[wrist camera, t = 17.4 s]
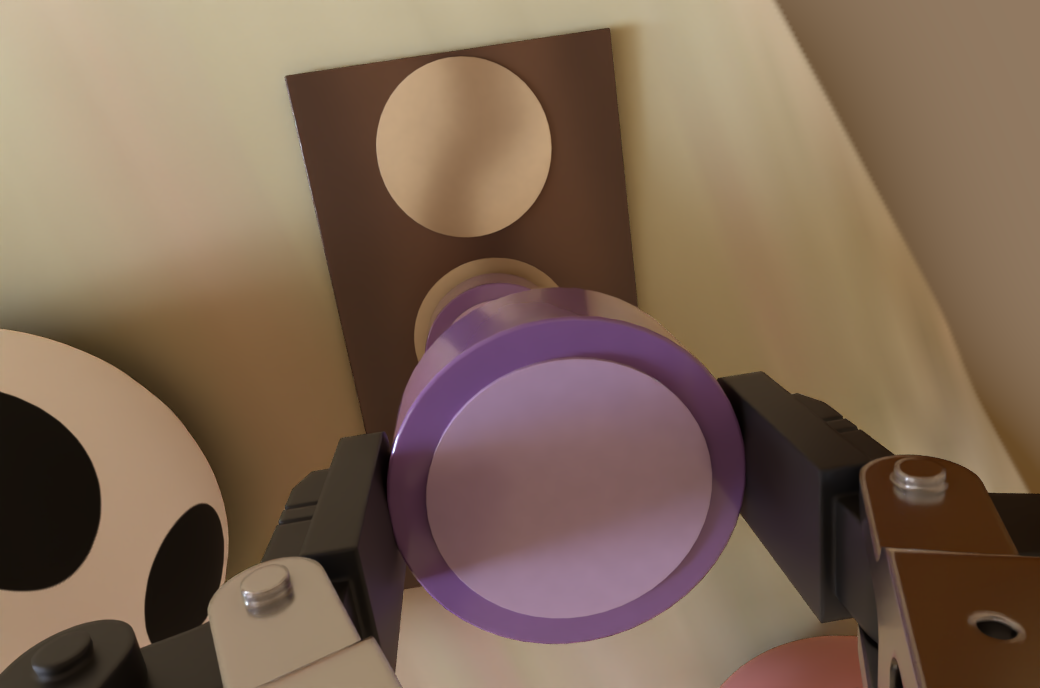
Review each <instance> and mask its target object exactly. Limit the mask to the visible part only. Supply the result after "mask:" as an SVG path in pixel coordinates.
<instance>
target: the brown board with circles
mask: <svg viewBox="0 0 1040 688" xmlns="http://www.w3.org/2000/svg"><path fill="white" fill-rule="evenodd" d="M285 81H286V85H287V90H288V94H289V99H290V103H291V107H292V112H293V116H294V120H295V125H296V129H297V133H298V138H299V142H300V147H301V151H302V155H303V160H304V164H305V168H306V173H307V177H308V181H309V186H310V190H311V194H312V199H313V203H314V208H315V212H316V216H317V221H318V225H319V229H320V234H321V238H322V242H323V247H324V251H325V256H326V260H327V264H328V269H329V273H330V277H331V282H332V286H333V290H334V295H335V299H336V303H337V308H338V312H339V317H340V321H341V325H342V330H343V334H344V338H345V343H346V347H347V351H348V356H349V360H350V365H351V369H352V373H353V378H354V382H355V386H356V391H357V395H358V399H359V404H360V408H361V413H362V417H363V421H364V426H365V430H366V434H370V433H376V432H382V431H385V433H386V434H387V437H388V440H389V444H390V448H392V442H393V437H394V431H395V426H396V421H397V415H398V410H399V406H400V403H401V400H402V396H403V393H404V390H405V388H406V385H407V383H408V381H409V379H410V377H411V375H412V373H413V371H414V369H415V367H416V366H417V364H418V363H419V361H420V360H421V358H422V357H423V355H424V354H425V345H426V335H427V329H428V325H429V321H430V318H431V316H432V314H433V311H434V310H435V308H436V306H437V305H438V303H439V302H440V301H441V299H442V298H443V297H444V296H445V295H446V294H447V293H448V292H449V291H450V290H451V289H452V288H454V287H455V286H457V285H458V284H460V283H462V282H463V281H465V280H467V279H470V278H473V277H475V276H479V275H483V274H491V273H505V274H511V275H516V276H519V277H522V278H524V279H527V280H529V281H531V282H533V283H534V284H536V285H537V286H539V287H540V288H552V287H562V288H579V289H585V290H590V291H596V292H600V293H603V294H606V295H610V296H613V297H616V298H619V299H621V300H623V301H625V302H627V303H629V304H631V305H633V306H636V307H637V308H638V304H637V294H636V284H635V274H634V264H633V254H632V244H631V234H630V224H629V214H628V204H627V194H626V184H625V174H624V164H623V154H622V144H621V134H620V124H619V114H618V104H617V94H616V84H615V74H614V64H613V54H612V44H611V35H610V28H605V29H599V30H592V31H585V32H578V33H572V34H565V35H558V36H551V37H545V38H538V39H531V40H524V41H518V42H511V43H504V44H497V45H491V46H484V47H477V48H470V49H464V50H457V51H450V52H443V53H437V54H430V55H423V56H416V57H410V58H403V59H396V60H389V61H383V62H376V63H369V64H362V65H356V66H349V67H342V68H335V69H329V70H322V71H315V72H308V73H302V74H295V75H288V76H285ZM420 586H422V585H421V584H420V583H419V582H418V581H417V579H416V578H415V577H414V575H413V573H412V572H411V570H410V569H409V567H408V566H407V564H406V571H405V581H404V589H409V588H414V587H420Z"/></svg>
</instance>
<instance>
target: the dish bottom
mask: <svg viewBox="0 0 1040 688" xmlns="http://www.w3.org/2000/svg"><path fill="white" fill-rule="evenodd" d="M532 289H541V288H540V287H539V286H537V285H536V284H534V283H533V282H531V281H529V280H527V279H524V278H522V277H519V276H516V275H511V274H505V273H491V274H483V275H479V276H475V277H473V278H470V279H467V280H465V281H463V282H462V283H460V284H458V285H457V286H455V287H454V288H452V289H451V290H450V291H449V292H448V293H447V294H446V295H445V296H444V297H443V298H442V299H441V301H440V302H439V303H438V305H437V306H436V308H435V310H434V311H433V314H432V316H431V318H430V321H429V325H428V329H427V335H426V345H425V352H426V351H427V350H428V349H429V348H430V347H431V345H432V344H433V343H434V342H435V341H436V340H437V338H438V337H439V336H441V335H442V334H443V333H444V332H445V331H446V330H447V329H448V328H450V327H451V326H452V325H453V324H454V323H455V322H457V321H458V320H460V319H461V318H463V317H464V316H466V315H467V314H469V313H470V312H471V311H473V310H475V309H477V308H479V307H481V306H483V305H485V304H487V303H489V302H491V301H493V300H496V299H499V298H502V297H505V296H507V295H510V294H514V293H518V292H523V291H527V290H532Z"/></svg>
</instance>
